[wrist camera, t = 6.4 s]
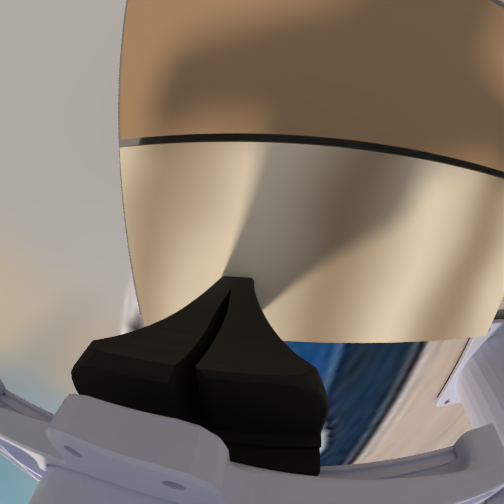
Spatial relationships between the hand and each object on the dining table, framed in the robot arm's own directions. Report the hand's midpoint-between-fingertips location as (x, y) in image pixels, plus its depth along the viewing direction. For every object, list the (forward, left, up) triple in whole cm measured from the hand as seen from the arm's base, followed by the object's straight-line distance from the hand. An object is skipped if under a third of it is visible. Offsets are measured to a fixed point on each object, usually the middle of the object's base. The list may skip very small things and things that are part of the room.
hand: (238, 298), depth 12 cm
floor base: (-4, -6, -2) cm, 8 cm away
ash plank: (-4, -2, -1) cm, 5 cm away
